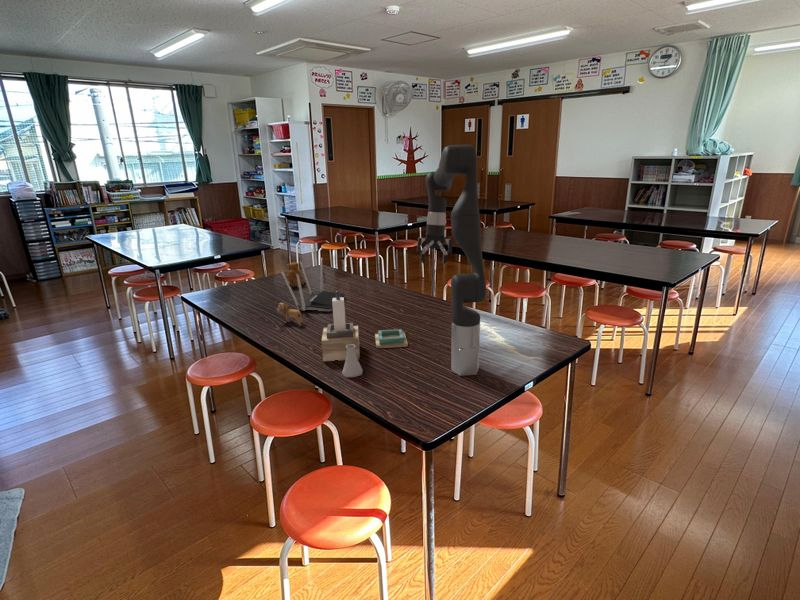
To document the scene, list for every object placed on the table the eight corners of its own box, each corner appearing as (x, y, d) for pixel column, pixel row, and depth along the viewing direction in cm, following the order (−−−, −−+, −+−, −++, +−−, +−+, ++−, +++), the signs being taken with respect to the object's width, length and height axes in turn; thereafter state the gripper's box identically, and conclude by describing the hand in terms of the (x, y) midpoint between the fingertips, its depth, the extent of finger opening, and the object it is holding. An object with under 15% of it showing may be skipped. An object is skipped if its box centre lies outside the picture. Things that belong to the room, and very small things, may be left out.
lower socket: (407, 346, 171) (407, 339, 170) (376, 348, 170) (376, 341, 169) (404, 334, 183) (404, 327, 182) (375, 336, 182) (374, 329, 181)
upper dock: (359, 359, 162) (358, 333, 159) (323, 361, 161) (320, 335, 157) (359, 344, 174) (357, 320, 171) (325, 346, 173) (323, 322, 170)
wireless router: (328, 316, 205) (324, 274, 199) (280, 315, 209) (276, 273, 203) (348, 294, 237) (346, 257, 231) (307, 293, 241) (303, 257, 235)
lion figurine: (276, 323, 199) (274, 304, 196) (284, 319, 204) (281, 300, 201) (303, 327, 193) (301, 307, 191) (310, 323, 198) (309, 304, 195)
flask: (343, 379, 147) (341, 351, 144) (340, 370, 154) (338, 343, 151) (365, 376, 149) (363, 348, 146) (360, 366, 156) (359, 340, 153)
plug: (345, 334, 163) (342, 292, 158) (334, 335, 163) (331, 293, 158) (346, 330, 167) (343, 289, 162) (335, 331, 167) (332, 290, 162)
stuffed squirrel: (306, 282, 264) (304, 260, 260) (302, 288, 250) (300, 265, 246) (289, 282, 264) (287, 260, 259) (284, 289, 250) (281, 266, 246)
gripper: (419, 223, 176) (417, 264, 180) (455, 225, 177) (452, 265, 181) (417, 222, 184) (415, 261, 187) (452, 224, 185) (449, 263, 188)
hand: (433, 263), depth 184 cm, fingers open, 8 cm apart
